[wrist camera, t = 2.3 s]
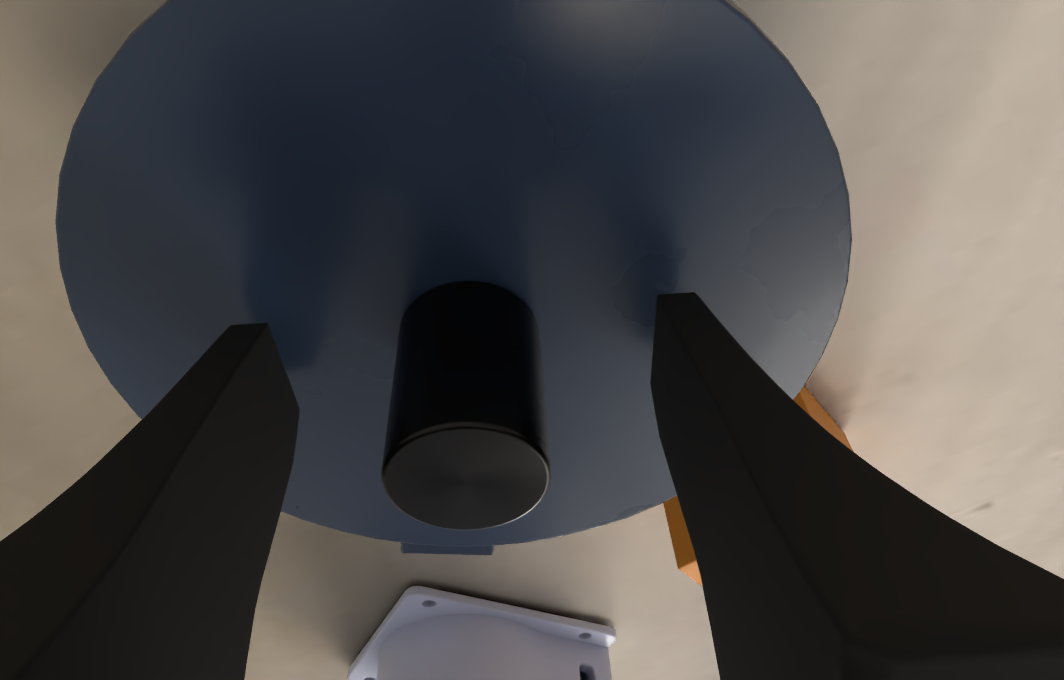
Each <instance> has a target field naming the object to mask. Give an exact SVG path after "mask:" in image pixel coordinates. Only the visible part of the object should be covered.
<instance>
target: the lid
mask: <svg viewBox="0 0 1064 680" xmlns="http://www.w3.org/2000/svg"><path fill="white" fill-rule="evenodd" d="M56 231H57V241H58V252H59V262H60V269H61V273H62V277H63V280H64V284H65V288H66V291H67V295H68V299H69V303H70V306H71V310H72V312H73V314H74V316H75V319H76V321H77V323H78V325H79V328H80V330H81V332H82V334H83V337H84V339H85V341H86V343H87V345H88V348H89V349H90V351H91V353H92V354H93V356H94V357H95V359H96V361H97V362H98V364H99V365H100V367H101V368H102V370H103V372H104V373H105V375H106V376H107V378H108V380H109V381H110V383H111V384H112V385H113V387H114V388H115V389H116V390H117V391H118V393H119V394H120V395H121V396H122V397H123V399H124V400H125V401H126V402H127V403H128V405H129V406H130V407H131V408H132V409H133V411H134V412H135V413H136V414H137V415H138V416H139V417H140V418H141V419H143V418H144V417H145V416H146V415H147V414H148V413H149V412H150V411H151V410H152V409H153V408H154V407H155V406H156V405H157V404H158V403H159V402H160V401H161V399H162V398H163V397H164V396H165V395H166V394H167V393H168V392H169V391H170V390H171V389H172V388H173V387H174V386H175V385H176V383H177V382H178V381H179V380H180V379H181V378H182V377H183V376H184V375H185V374H186V373H187V372H188V370H189V369H190V368H191V367H192V366H193V365H194V364H195V363H196V362H197V361H198V359H199V358H200V357H201V356H202V355H203V354H204V353H205V352H206V351H207V350H208V348H209V347H210V346H211V345H212V344H213V343H214V342H215V341H216V340H217V339H218V338H219V336H220V335H221V334H222V333H223V332H224V331H225V330H226V329H227V328H228V327H229V326H230V325H239V324H253V323H267V322H268V325H269V328H270V330H271V333H272V336H273V338H274V341H275V344H276V346H277V349H278V352H279V354H280V357H281V360H282V362H283V365H284V368H285V370H286V373H287V376H288V378H289V381H290V384H291V386H292V389H293V392H294V394H295V397H296V400H297V402H298V405H299V408H300V413H299V422H298V431H297V440H296V447H295V454H294V461H293V466H292V470H291V474H290V478H289V482H288V485H287V489H286V493H285V497H284V500H283V504H282V508H281V511H282V512H284V513H287V514H290V515H292V516H295V517H297V518H300V519H302V520H305V521H309V522H312V523H315V524H319V525H322V526H325V527H329V528H332V529H335V530H338V531H343V532H347V533H352V534H357V535H361V536H366V537H370V538H375V539H382V540H389V541H396V542H403V543H410V544H423V545H439V546H491V545H503V544H514V543H525V542H531V541H537V540H543V539H549V538H556V537H561V536H565V535H569V534H573V533H578V532H582V531H586V530H590V529H594V528H597V527H600V526H603V525H606V524H610V523H613V522H616V521H619V520H622V519H625V518H628V517H631V516H633V515H635V514H638V513H640V512H642V511H645V510H647V509H649V508H652V507H654V506H657V505H659V504H661V503H663V502H665V501H667V500H669V499H671V498H673V497H675V496H677V494H676V490H675V487H674V484H673V481H672V477H671V474H670V471H669V467H668V464H667V461H666V457H665V454H664V451H663V447H662V444H661V441H660V437H659V432H658V426H657V421H656V416H655V410H654V404H653V398H652V392H651V386H650V379H651V367H652V354H653V341H654V328H655V315H656V303H657V295H660V294H674V293H688V292H695V293H696V294H697V295H698V296H699V297H700V298H701V299H702V300H703V302H704V303H705V304H706V305H707V306H708V308H709V309H710V310H711V311H712V313H713V314H714V315H715V316H716V317H717V319H718V320H719V321H720V322H721V323H722V325H723V326H724V327H725V328H726V329H727V330H728V332H729V333H730V334H731V335H732V336H733V337H734V338H735V340H736V341H737V342H738V343H739V344H740V345H741V346H742V348H743V349H744V350H745V351H746V352H747V353H748V354H749V355H750V356H751V357H752V359H753V360H754V361H755V362H756V363H757V364H758V365H759V366H760V367H761V368H762V369H763V370H764V371H765V372H766V373H767V374H768V375H769V376H770V377H771V378H772V379H773V381H774V382H775V383H776V384H777V385H778V386H779V387H780V388H781V389H782V390H783V391H785V392H786V393H787V394H788V395H789V396H790V397H791V398H792V399H794V398H795V397H796V396H797V394H798V393H799V392H800V391H801V389H802V388H803V387H804V385H805V383H806V382H807V380H808V378H809V377H810V375H811V373H812V372H813V370H814V368H815V367H816V365H817V363H818V362H819V360H820V358H821V357H822V355H823V352H824V350H825V348H826V345H827V343H828V341H829V338H830V336H831V334H832V331H833V329H834V327H835V324H836V322H837V320H838V316H839V312H840V308H841V305H842V301H843V297H844V293H845V289H846V286H847V282H848V272H849V262H850V252H851V242H852V234H851V219H850V204H849V194H848V189H847V185H846V181H845V177H844V173H843V169H842V165H841V161H840V156H839V152H838V149H837V147H836V145H835V142H834V140H833V138H832V135H831V133H830V131H829V129H828V126H827V124H826V122H825V119H824V117H823V115H822V113H821V110H820V108H819V106H818V104H817V103H816V101H815V100H814V98H813V96H812V95H811V93H810V92H809V90H808V89H807V87H806V86H805V84H804V83H803V81H802V80H801V78H800V77H799V75H798V74H797V72H796V71H795V69H794V68H793V66H792V65H791V63H790V62H789V60H788V59H787V58H786V57H785V55H784V54H783V53H782V52H781V51H780V50H779V48H778V47H777V46H776V45H775V44H774V43H773V42H772V41H771V40H770V39H769V38H768V37H767V36H766V35H765V33H764V32H763V31H762V30H761V29H760V28H759V27H758V26H757V25H756V24H755V23H754V22H753V21H752V19H751V18H750V17H749V16H748V15H747V14H746V13H745V12H744V11H743V10H742V9H741V8H739V7H738V6H737V5H736V4H734V3H733V2H732V1H730V0H166V1H165V2H164V3H163V4H162V5H161V6H160V7H159V8H158V9H157V10H156V11H154V12H153V13H152V14H151V15H150V16H149V17H148V18H147V19H146V20H145V21H144V22H142V23H141V24H140V25H139V26H138V27H137V28H136V29H135V30H134V31H133V32H132V33H131V34H130V35H129V37H128V38H127V39H126V41H125V42H124V43H123V45H122V46H121V47H120V49H119V50H118V51H117V53H116V54H115V55H114V57H113V58H112V59H111V60H110V62H109V63H108V64H107V66H106V67H105V68H104V70H103V71H102V72H101V74H100V75H99V76H98V78H97V79H96V81H95V83H94V85H93V87H92V89H91V91H90V93H89V95H88V97H87V99H86V101H85V103H84V105H83V107H82V109H81V111H80V113H79V115H78V117H77V119H76V121H75V123H74V125H73V128H72V131H71V135H70V138H69V142H68V146H67V149H66V153H65V156H64V160H63V164H62V167H61V171H60V175H59V187H58V199H57V210H56Z"/></svg>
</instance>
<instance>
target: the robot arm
mask: <svg viewBox="0 0 1064 680" xmlns="http://www.w3.org/2000/svg"><path fill="white" fill-rule="evenodd" d="M650 386H651V392H652V398H653V404H654V410H655V416H656V421H657V426H658V432H659V437H660V441H661V444H662V447H663V451H664V454H665V457H666V461H667V464H668V467H669V471H670V474H671V477H672V481H673V484H674V487H675V490H676V494H677V497H678V500H679V503H680V507H681V510H682V513H683V517H684V520H685V523H686V526H687V530H688V533H689V536H690V539H691V543H692V546H693V549H694V553H695V557H696V560H697V564H698V568H699V572H700V576H701V581H702V586H703V591H704V596H705V601H706V606H707V611H708V616H709V621H710V626H711V631H712V637H713V642H714V647H715V653H716V658H717V664H718V669H719V675H720V680H1064V579H1062V578H1060V577H1058V576H1056V575H1054V574H1053V573H1051V572H1049V571H1047V570H1045V569H1043V568H1041V567H1039V566H1037V565H1035V564H1033V563H1031V562H1029V561H1027V560H1025V559H1023V558H1021V557H1019V556H1017V555H1015V554H1013V553H1011V552H1009V551H1008V550H1006V549H1004V548H1002V547H1000V546H998V545H996V544H994V543H993V542H991V541H989V540H987V539H986V538H984V537H982V536H980V535H979V534H977V533H975V532H974V531H972V530H970V529H968V528H967V527H965V526H963V525H962V524H960V523H958V522H956V521H955V520H953V519H951V518H950V517H948V516H946V515H945V514H943V513H942V512H940V511H938V510H937V509H935V508H934V507H932V506H930V505H929V504H927V503H926V502H924V501H922V500H921V499H919V498H918V497H917V496H915V495H914V494H912V493H911V492H909V491H908V490H906V489H905V488H903V487H902V486H900V485H899V484H897V483H896V482H894V481H893V480H891V479H890V478H888V477H887V476H885V475H884V474H882V473H881V472H880V471H878V470H877V469H876V468H874V467H873V466H871V465H870V464H869V463H867V462H866V461H865V460H863V459H862V458H861V457H859V456H858V455H857V454H855V453H854V452H853V451H852V450H850V449H849V448H848V447H847V446H845V445H844V444H843V443H842V442H840V441H839V440H838V439H837V438H835V437H834V436H833V435H832V434H831V433H829V432H828V431H827V430H826V429H825V428H824V427H822V426H821V425H820V424H819V423H818V422H817V421H816V420H814V419H813V418H812V417H811V416H810V415H809V414H808V413H807V412H806V411H805V410H804V409H802V408H801V407H800V406H799V405H798V404H797V403H796V402H795V401H794V400H793V399H792V398H791V397H790V396H789V395H788V394H787V393H786V392H785V391H783V390H782V389H781V388H780V387H779V386H778V385H777V384H776V383H775V382H774V381H773V379H772V378H771V377H770V376H769V375H768V374H767V373H766V372H765V371H764V370H763V369H762V368H761V367H760V366H759V365H758V364H757V363H756V362H755V361H754V360H753V359H752V357H751V356H750V355H749V354H748V353H747V352H746V351H745V350H744V349H743V348H742V346H741V345H740V344H739V343H738V342H737V341H736V340H735V338H734V337H733V336H732V335H731V334H730V333H729V332H728V330H727V329H726V328H725V327H724V326H723V325H722V323H721V322H720V321H719V320H718V319H717V317H716V316H715V315H714V314H713V313H712V311H711V310H710V309H709V308H708V306H707V305H706V304H705V303H704V302H703V300H702V299H701V298H700V297H699V296H698V295H697V294H696V293H695V292H688V293H674V294H660V295H657V303H656V315H655V328H654V341H653V354H652V367H651V379H650ZM299 413H300V408H299V405H298V402H297V400H296V397H295V394H294V392H293V389H292V386H291V384H290V381H289V378H288V376H287V373H286V370H285V368H284V365H283V362H282V360H281V357H280V354H279V352H278V349H277V346H276V344H275V341H274V338H273V336H272V333H271V330H270V328H269V325H268V322H267V323H253V324H239V325H230V326H229V327H228V328H227V329H226V330H225V331H224V332H223V333H222V334H221V335H220V336H219V338H218V339H217V340H216V341H215V342H214V343H213V344H212V345H211V346H210V347H209V348H208V350H207V351H206V352H205V353H204V354H203V355H202V356H201V357H200V358H199V359H198V361H197V362H196V363H195V364H194V365H193V366H192V367H191V368H190V369H189V370H188V372H187V373H186V374H185V375H184V376H183V377H182V378H181V379H180V380H179V381H178V382H177V383H176V385H175V386H174V387H173V388H172V389H171V390H170V391H169V392H168V393H167V394H166V395H165V396H164V397H163V398H162V399H161V401H160V402H159V403H158V404H157V405H156V406H155V407H154V408H153V409H152V410H151V411H150V412H149V413H148V414H147V415H146V416H145V417H144V418H143V419H142V420H141V421H140V422H139V423H138V424H137V425H136V426H135V427H134V428H133V429H132V430H131V431H130V432H129V433H128V434H127V435H126V436H125V437H124V438H123V439H122V440H121V441H120V442H119V443H118V444H117V445H115V446H114V447H113V448H112V449H111V450H110V451H109V452H108V453H107V454H106V455H105V456H104V457H103V458H102V459H101V460H100V461H99V462H98V463H97V464H96V465H95V466H93V467H92V468H91V469H90V470H89V471H88V472H87V473H86V474H85V475H83V476H82V477H81V478H80V479H79V480H78V481H77V482H75V483H74V484H73V485H72V486H71V487H70V488H68V489H67V490H66V491H65V492H63V493H62V494H61V495H60V496H59V497H57V498H56V499H55V500H54V501H53V502H51V503H50V504H49V505H48V506H46V507H45V508H44V509H43V510H42V511H40V512H39V513H38V514H37V515H35V516H34V517H33V518H31V519H30V520H29V521H28V522H26V523H25V524H23V525H22V526H21V527H19V528H18V529H17V530H15V531H14V532H13V533H11V534H10V535H8V536H7V537H6V538H4V539H3V540H2V541H0V680H244V678H245V670H246V663H247V657H248V651H249V644H250V638H251V632H252V626H253V619H254V613H255V608H256V603H257V599H258V594H259V590H260V585H261V581H262V578H263V574H264V570H265V567H266V563H267V559H268V556H269V552H270V548H271V545H272V541H273V537H274V534H275V530H276V526H277V523H278V519H279V515H280V512H281V508H282V504H283V500H284V497H285V493H286V489H287V485H288V482H289V478H290V474H291V470H292V466H293V461H294V454H295V447H296V440H297V431H298V422H299ZM616 639H617V636H616V630H615V629H614V628H613V627H610V626H606V625H601V624H596V623H592V622H587V621H582V620H578V619H573V618H568V617H564V616H559V615H554V614H550V613H545V612H540V611H536V610H531V609H526V608H522V607H517V606H512V605H508V604H503V603H498V602H494V601H489V600H484V599H480V598H475V597H470V596H466V595H461V594H456V593H452V592H447V591H442V590H438V589H433V588H428V587H424V586H412V587H409V588H408V589H407V590H406V591H405V592H404V593H403V595H402V596H401V597H400V599H399V600H398V602H397V603H396V604H395V606H394V607H393V608H392V610H391V611H390V612H389V614H388V615H387V617H386V618H385V619H384V621H383V622H382V623H381V625H380V626H379V628H378V629H377V630H376V632H375V633H374V634H373V636H372V637H371V639H370V640H369V641H368V643H367V644H366V645H365V647H364V648H363V649H362V651H361V652H360V654H359V655H358V656H357V658H356V659H355V660H354V662H353V663H352V665H351V666H350V667H349V669H348V675H347V678H348V679H349V680H612V676H611V668H610V661H609V653H608V647H609V646H611V645H612V644H613V643H614V642H615V641H616Z"/></svg>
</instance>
